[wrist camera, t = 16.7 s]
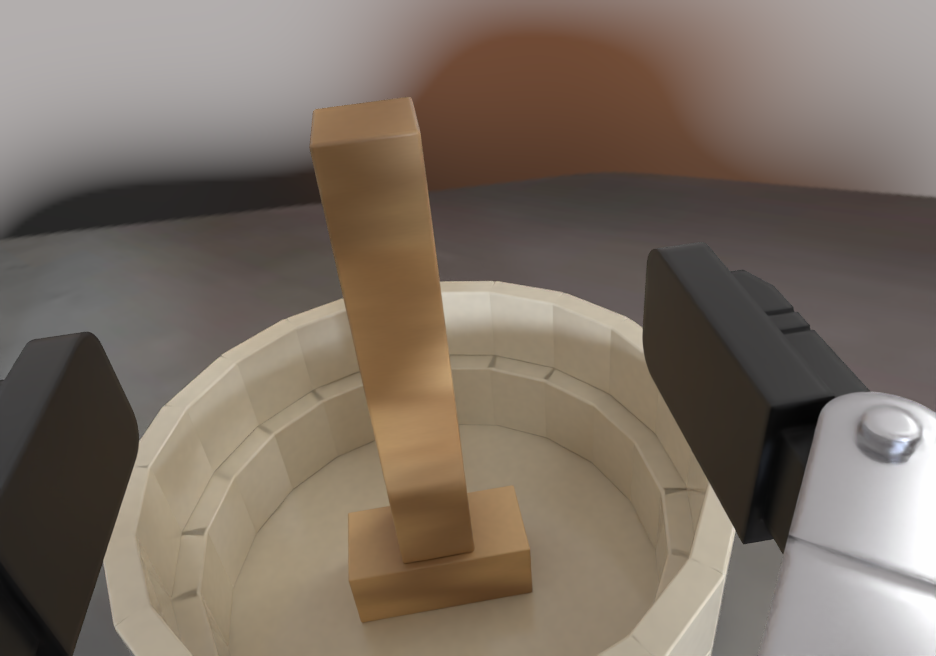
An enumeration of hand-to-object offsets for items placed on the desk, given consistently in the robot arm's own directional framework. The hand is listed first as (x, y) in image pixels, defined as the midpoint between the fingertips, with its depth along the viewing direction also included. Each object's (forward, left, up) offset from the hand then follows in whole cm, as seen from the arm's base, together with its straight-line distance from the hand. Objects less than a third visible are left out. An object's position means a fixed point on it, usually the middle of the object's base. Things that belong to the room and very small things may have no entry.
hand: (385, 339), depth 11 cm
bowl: (-2, -5, -13) cm, 14 cm away
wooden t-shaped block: (-2, -5, -12) cm, 13 cm away
